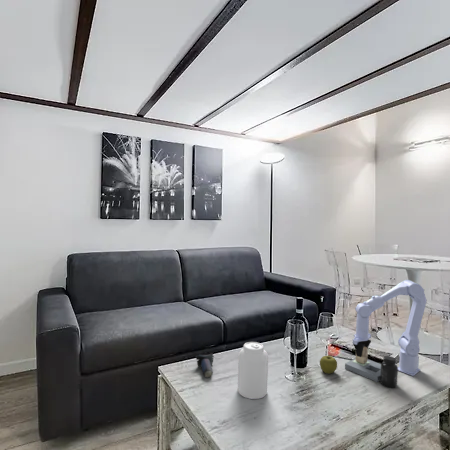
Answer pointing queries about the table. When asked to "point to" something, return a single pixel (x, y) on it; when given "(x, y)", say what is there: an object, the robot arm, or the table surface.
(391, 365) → the supplement bottle
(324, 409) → the table surface
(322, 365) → the apple
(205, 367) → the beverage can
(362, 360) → the beech block
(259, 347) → the can
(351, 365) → the pocket board
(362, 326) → the robot arm
